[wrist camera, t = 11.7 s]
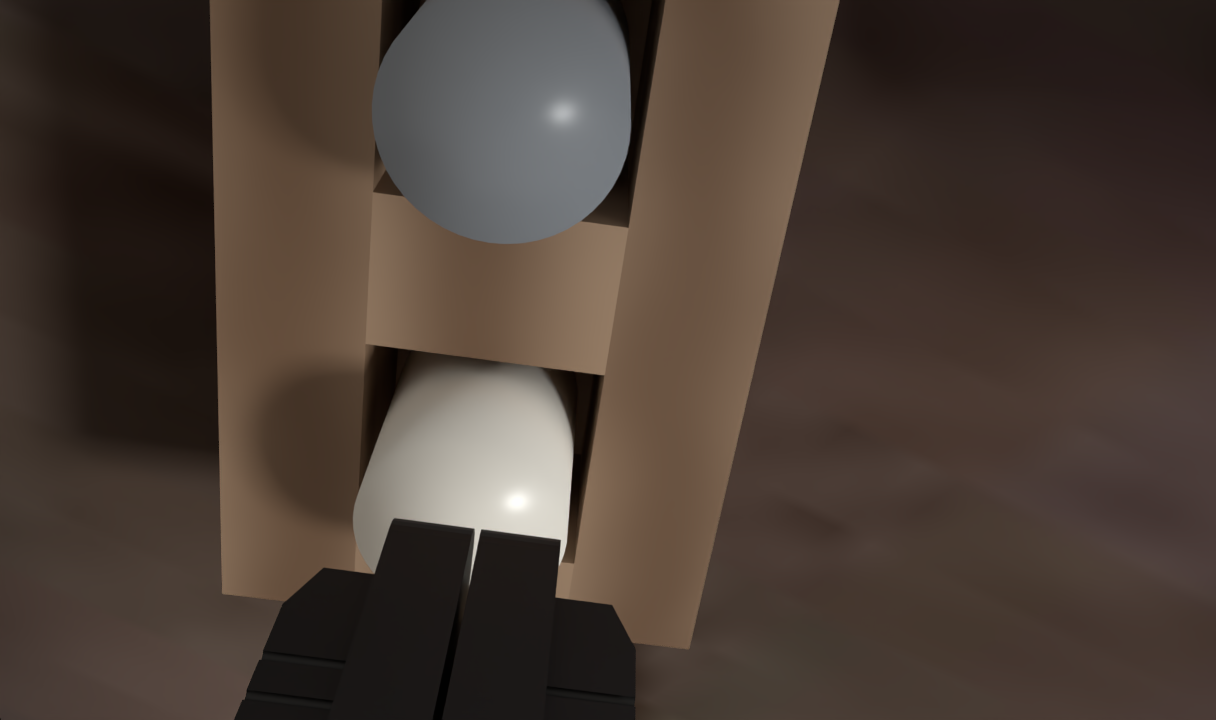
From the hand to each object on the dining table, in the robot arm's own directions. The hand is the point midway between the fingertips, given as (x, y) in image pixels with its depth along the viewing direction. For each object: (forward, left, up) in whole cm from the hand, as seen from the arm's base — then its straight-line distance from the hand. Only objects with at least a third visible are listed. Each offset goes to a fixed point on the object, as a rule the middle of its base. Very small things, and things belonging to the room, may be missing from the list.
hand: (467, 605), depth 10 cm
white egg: (+1, +8, -18) cm, 20 cm away
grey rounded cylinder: (+1, -1, -18) cm, 18 cm away
